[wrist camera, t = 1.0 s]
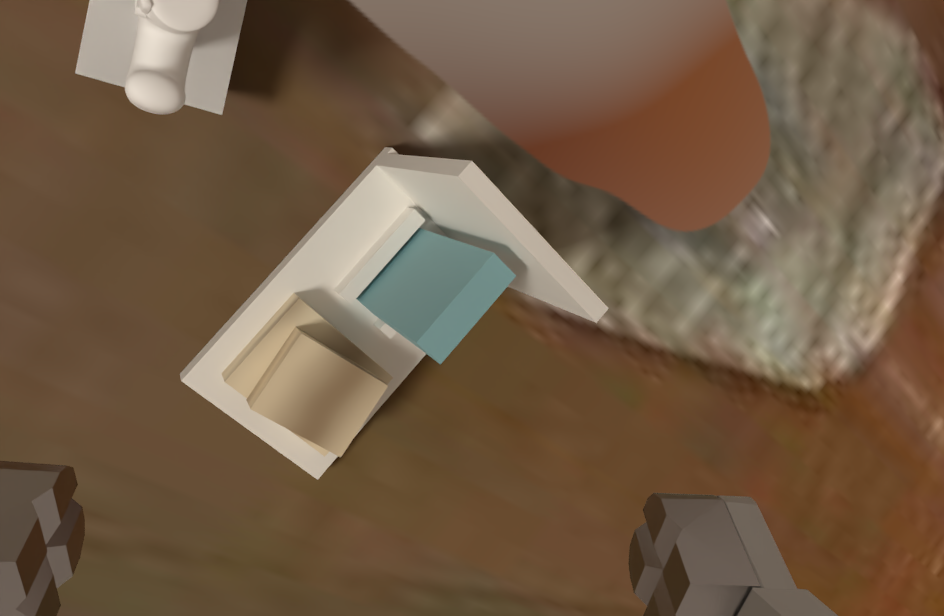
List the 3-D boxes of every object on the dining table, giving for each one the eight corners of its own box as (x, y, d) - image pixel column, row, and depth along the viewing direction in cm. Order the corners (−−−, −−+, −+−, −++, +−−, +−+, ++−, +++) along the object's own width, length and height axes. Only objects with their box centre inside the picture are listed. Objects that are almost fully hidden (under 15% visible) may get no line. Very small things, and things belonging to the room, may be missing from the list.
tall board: (354, 297, 50) (416, 342, 39) (416, 227, 50) (494, 253, 40) (374, 314, 51) (440, 364, 40) (435, 245, 51) (516, 275, 40)
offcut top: (246, 399, 47) (250, 409, 45) (295, 326, 47) (301, 333, 45) (333, 446, 49) (340, 457, 48) (380, 377, 50) (388, 385, 48)
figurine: (247, -28, 45) (297, -96, 32) (211, 134, 46) (245, 136, 32) (110, -78, 42) (101, -177, 28) (75, 97, 43) (50, 82, 29)
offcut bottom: (221, 373, 47) (224, 381, 46) (293, 292, 48) (299, 298, 47) (318, 446, 51) (324, 456, 49) (384, 370, 52) (393, 377, 50)
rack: (179, 373, 48) (199, 468, 35) (385, 147, 50) (478, 152, 37) (312, 470, 53) (375, 587, 39) (495, 259, 55) (614, 301, 41)
